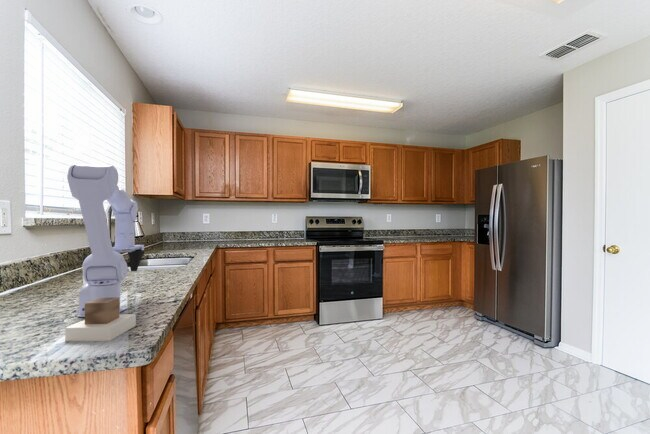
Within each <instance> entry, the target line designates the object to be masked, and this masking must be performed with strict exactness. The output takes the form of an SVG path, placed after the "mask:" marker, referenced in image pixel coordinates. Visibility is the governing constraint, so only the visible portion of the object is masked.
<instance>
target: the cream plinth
mask: <svg viewBox="0 0 650 434" xmlns="http://www.w3.org/2000/svg"><path fill="white" fill-rule="evenodd" d="M136 322H137V315H136V314H135V313H134V314H133V313H132V314H131V313H130V314H129V313H128V314H127V313H126V314H125V313H123V314H121V313H120V314H119V318H117V319H115V320H113V321H111V322H109V323H107V324H85V319H83V320H81V321H78V322H76V323H74V324H72V325H69V326H66V327H64V328H65V331H64V332H65V335H64V337H65V340H64V341H65V342H102V341H103V342H107V341H108V342H110V341H111V340H113V339H115V338H117V337H118V336H120V335H122V334H124V333H126V332H127V331H129V330H130V329H132V328H135V327H136V326H137V324H136Z"/></svg>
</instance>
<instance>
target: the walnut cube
mask: <svg viewBox="0 0 650 434" xmlns="http://www.w3.org/2000/svg"><path fill="white" fill-rule="evenodd" d="M120 307H121V296H120V297H119V298H97V299H95V300H92V301H89V302H87V303H85V317H84V320H85V324H107V323H109V322H111V321H113V320H115V319H117V318H119V314H121V312H120Z"/></svg>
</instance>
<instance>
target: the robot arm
mask: <svg viewBox="0 0 650 434" xmlns="http://www.w3.org/2000/svg"><path fill="white" fill-rule="evenodd" d="M66 178H67V183H68V185H69V186H68V187H69V190H70V193H71V197H72V198H75V199H76V200H78V203H79V207H80V212H81V215H82V216H81V217H82V221H83V223H84V229H85V231H86V235H87V236H86V237H87V241H88V243H89V248H90V252H91V253H90V254H89V255H87V257H85V259H84V260H83V262H82V265H81V267H82V266H83V270H82V280H83V279H84V280H85V281H86V282H87V283H88V284H86V285H83V286H82V287H81V289H80V291H79V296H78V297H79V298H78V299H79V300H78V314H77V315H76V317H77V318H82V317H83V318H85V303H87V302H89V301H92V300H95V299H97V298H119V297H120V298H121V283H122V282H123V281H124V280H125V279H126V278H127V276H128V268H129V267H130V271H131V272H138V268H139V265H140V262H141V259H142V258H143V257H144V255H145V244H135V243H136V241H135V234H136V231H135V229H136V221H137V215H138V209H139V207H138V203H137V201H136V200H134V199H131V198H130V196H129V195H128V194H127V192H126V190H125V189H123V188H122V187H119V185H118V184H119V173H118V169H117V168H116V167H115V166H114V165H111V164H110V165H98V164H82V163H81V164H79V163H73V164H71V165H70V166H69V168H68V171H67V175H66ZM105 201H107V202H108V204H109V205H110V208H111V211H112V214H113V216H114V217H115V218H114V220H115V221H114V246H112V245H113V244H112V240H111V235H110V229H109V225H108V220H107V216H106V211H105V206H104V202H105ZM121 253H127V254H128V257H129V258H128V259H129V267H128V263H127V261H126V260H125V258H124V255H123V254H121ZM127 309H128V307H126V306H125V307H122V306H120V313H121V312H123V311H125V310H127Z"/></svg>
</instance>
